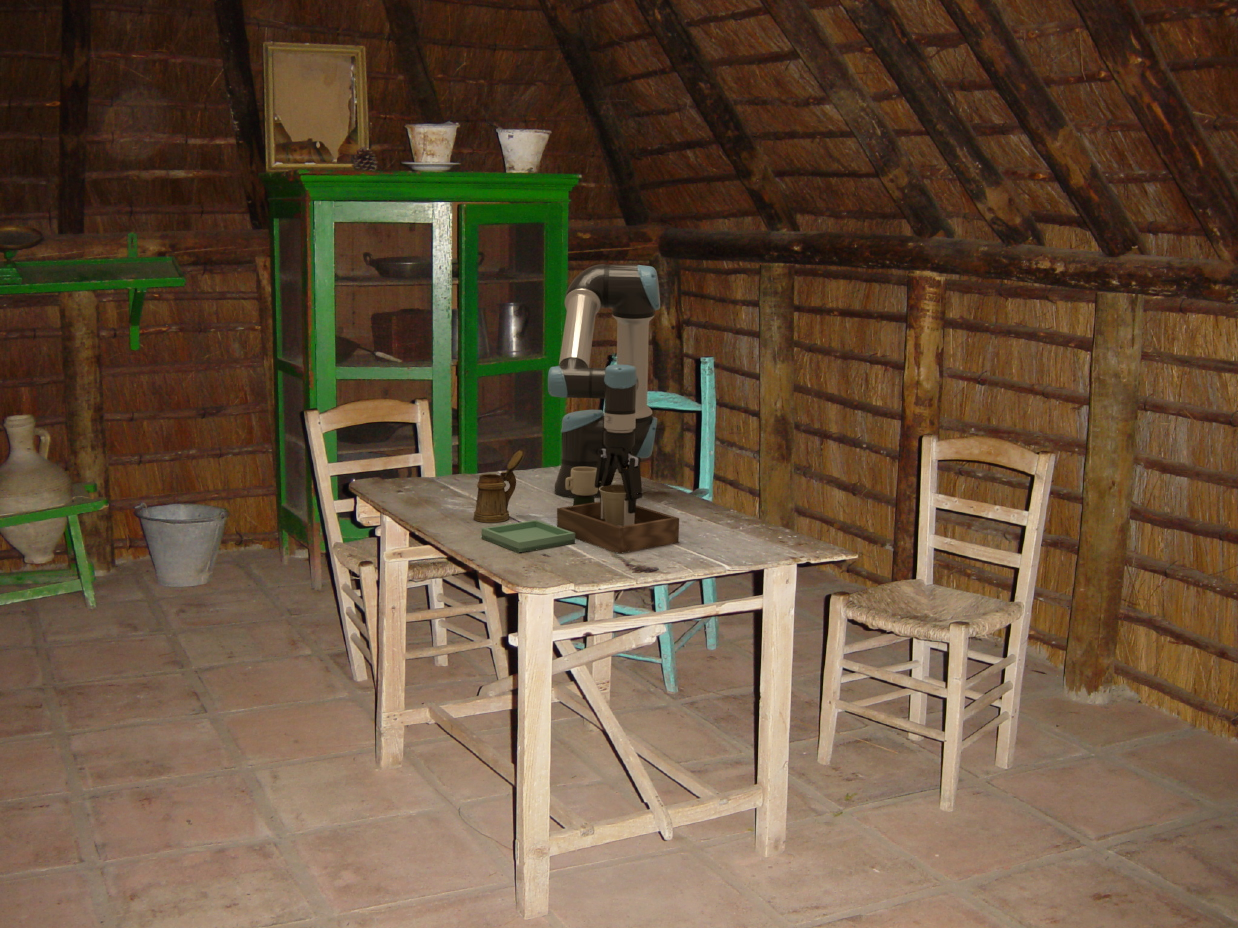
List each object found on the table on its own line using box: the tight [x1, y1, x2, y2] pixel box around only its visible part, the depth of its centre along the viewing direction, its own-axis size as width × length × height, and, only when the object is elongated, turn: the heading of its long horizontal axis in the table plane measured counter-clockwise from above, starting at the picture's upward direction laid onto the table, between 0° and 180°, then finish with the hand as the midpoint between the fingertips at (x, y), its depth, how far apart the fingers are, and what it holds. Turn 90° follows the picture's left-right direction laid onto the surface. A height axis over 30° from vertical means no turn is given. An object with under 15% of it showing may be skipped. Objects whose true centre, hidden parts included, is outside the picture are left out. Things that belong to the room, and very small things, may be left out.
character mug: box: [565, 467, 601, 506], centre depth 312 cm, size 11×7×13 cm, turn 120°
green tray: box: [481, 519, 576, 553], centre depth 289 cm, size 16×16×2 cm
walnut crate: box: [556, 501, 680, 554], centre depth 294 cm, size 18×24×6 cm
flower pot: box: [599, 483, 627, 527], centre depth 293 cm, size 9×9×9 cm
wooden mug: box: [473, 447, 526, 524], centre depth 309 cm, size 9×14×18 cm, turn 112°
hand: (617, 521), depth 294 cm, fingers closed on flower pot, 8 cm apart
